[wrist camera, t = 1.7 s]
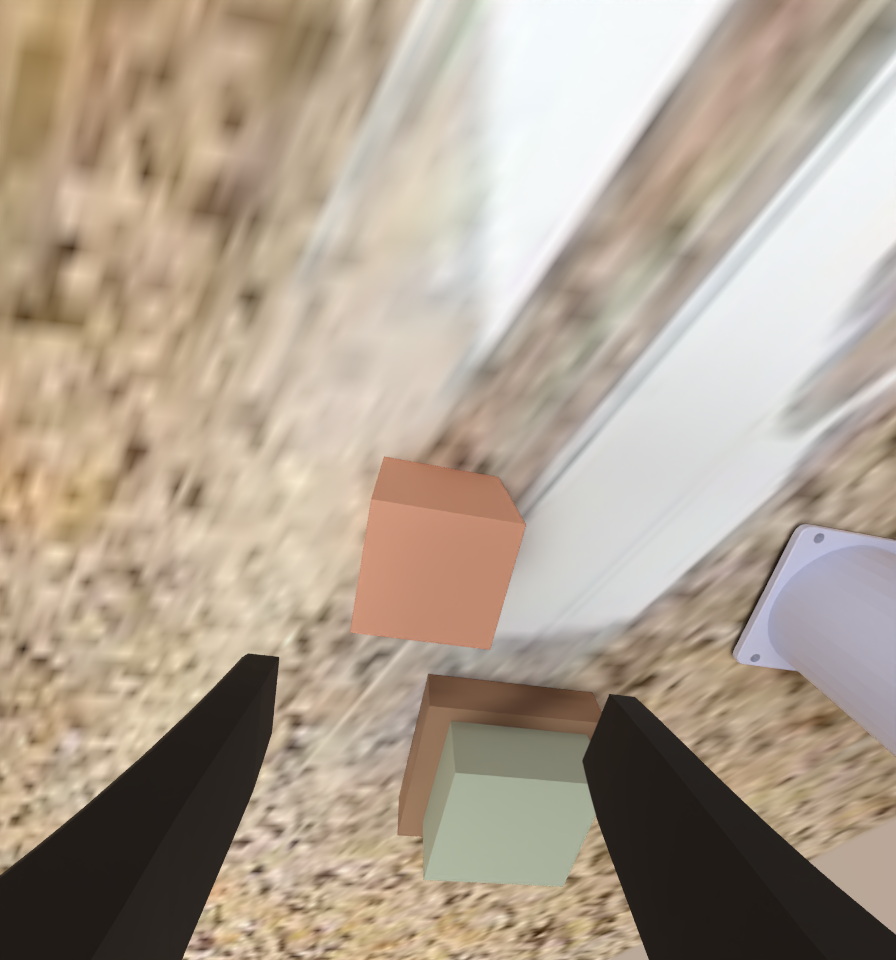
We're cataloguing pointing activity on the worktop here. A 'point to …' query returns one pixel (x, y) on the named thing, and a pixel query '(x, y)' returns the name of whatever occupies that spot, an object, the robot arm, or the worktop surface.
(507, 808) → the sage block
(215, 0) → the worktop surface
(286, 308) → the worktop surface
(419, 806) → the walnut block
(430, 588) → the terracotta block
